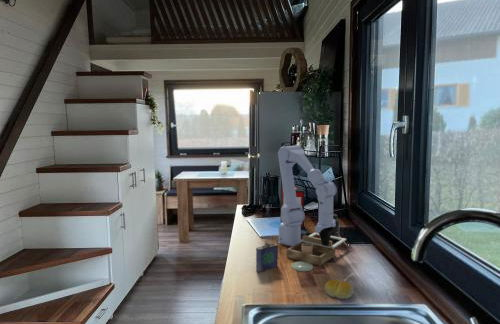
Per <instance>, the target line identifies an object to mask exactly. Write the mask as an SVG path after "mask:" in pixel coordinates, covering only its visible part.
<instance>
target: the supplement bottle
mask: <svg viewBox="0 0 500 324" xmlns="http://www.w3.org/2000/svg"><path fill="white" fill-rule="evenodd" d="M333 219H335V220H336V223H335V224H336V226H335V227H332V228H334V231H333V232H332V234H331V236H335V237H340V226H341V225H340V221H339V220H338V214H336V213H333ZM330 241H332V243H335V242H336V243H337V242H339V240H338V239H334V238H330Z"/></svg>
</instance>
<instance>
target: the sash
mask: <svg viewBox="0 0 500 324" xmlns="http://www.w3.org/2000/svg"><path fill="white" fill-rule="evenodd" d="M315 236H319V237H320V235H319V233H318V232H315V231H314V232H313V233H311V234H309V235H305V234H304V235H302V238H301V241H302V242H306V243H311V244H315V245H319V246H324V245H322V242H321V238H318V237H315ZM330 238H334V239H338V241H337V242H336V243H335V242H334V244H333V242H332V241H329V244H328V246H324V247H328V248H332V249H334V248H335V249H336V248H337V247H338V246H340V245H341V244H342V243H344V242H346V241H347V238H345V237H340V236H339V237H335V236H331V237H330Z"/></svg>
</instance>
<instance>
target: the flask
mask: <svg viewBox="0 0 500 324" xmlns="http://www.w3.org/2000/svg"><path fill="white" fill-rule="evenodd" d="M278 253H279V245H278V243H274V242H273V243H272V242H271V243H269V241H268V240H265V241H264V244H263V245H261V246H258V247H256V249H255V254H256V255H255V261H256V262H255V263H256V264H255V265H256V266H255V267H256V269H255V270H256V272H257V273H263V272H266V271H267V270H269V269H275V268H278V259H279V258H278Z"/></svg>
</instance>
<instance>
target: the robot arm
mask: <svg viewBox="0 0 500 324" xmlns="http://www.w3.org/2000/svg"><path fill="white" fill-rule="evenodd" d="M277 156H278V165H279V172H280V178H281V186H283V192H284V199H285V204H284V206H283V207H282V208H281V221H282V222H283V223H281V221H280V224H279V227H278V242H277V244H282V245H286V246H290V247H292V246H294V245H296V244H298V243H300V242H301V239H302V238H301V237H302V236H301V234H302V233H301V232H302V230H301V224H302V221H303V220H304V221H305V217H306V215H305V210H304V211H303V209H302V205H300V204H299V203H298V202H297V198H296V191H295V185H296V184H295V180H294V179H295V177H294V173H293V171H294V170H293V167H294V165H296V164H298V165H299V167H301V168H302V169H303V170H304V172H305V173H307V176H306V177H307V179H308V180H309V182H310V183H311V184H312V186H313V187H314V189H315V194H316V197H317V201H318V222H317V224H316V226H315V227H314V233H315V232H316V233H319V235H320V236H319V235H318V236H319V237H320V239H321V242H322V245H324V246H328V244H329V241H330V237H331V234H332V232H333V231H334V228H332V227H335V226H336V224H335V223H336V220H335V219H333V214H334V196H336V195H337V192H338V191H337V190H338V189H337V186H336V184H335V182H333V181H330V180H328V179H327V177H326V176H324V174H323V172H322V171H321V170H320V169H318V168H315V167H314V166H313V165H312V164H311V162H310V160H309V159H308V158H307V156H306V154H305V150H304V149H303V147H302V146H301V145H300V144H299V145H298V144H297V145H288V146H287V145H286V146H284V145H283V146H281V147H280V148H279V150H278V151H277ZM290 209H293V210H290Z"/></svg>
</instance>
